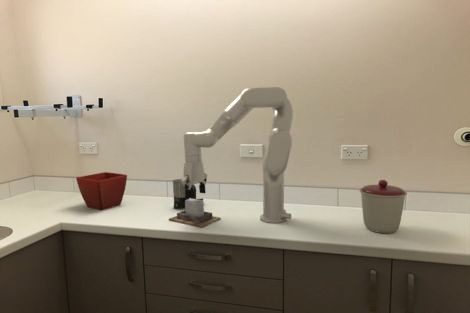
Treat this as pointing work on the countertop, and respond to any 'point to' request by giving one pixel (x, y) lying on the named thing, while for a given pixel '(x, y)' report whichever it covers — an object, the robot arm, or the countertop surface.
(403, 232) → the countertop surface
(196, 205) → the medicine box
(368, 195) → the canister
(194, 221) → the holder
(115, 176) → the plant pot
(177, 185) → the milk frother
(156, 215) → the countertop surface
